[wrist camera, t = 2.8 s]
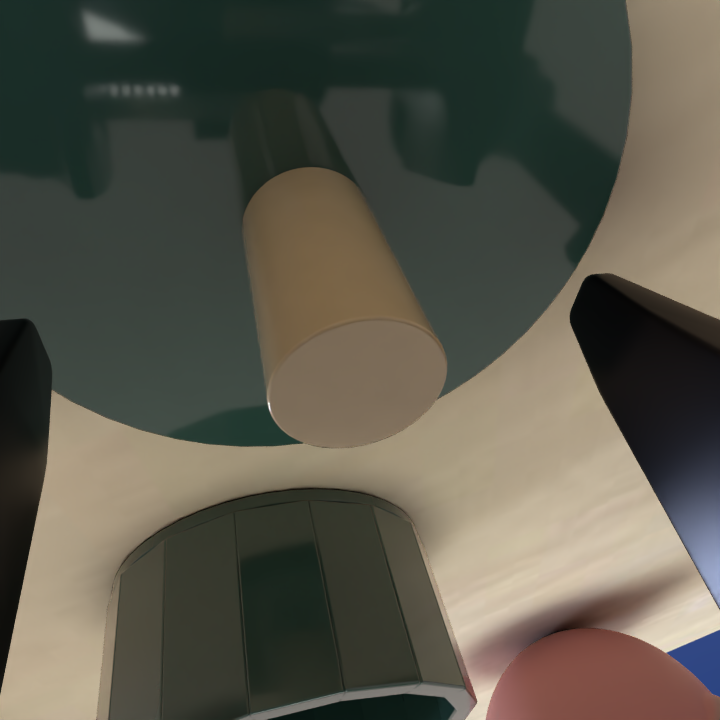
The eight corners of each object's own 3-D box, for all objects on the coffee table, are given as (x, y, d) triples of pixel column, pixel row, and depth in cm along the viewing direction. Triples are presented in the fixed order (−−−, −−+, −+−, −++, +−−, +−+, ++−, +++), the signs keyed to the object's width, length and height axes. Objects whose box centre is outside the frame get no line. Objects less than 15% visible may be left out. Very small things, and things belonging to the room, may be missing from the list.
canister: (441, 465, 20) (517, 650, 15) (398, 609, 28) (439, 755, 24) (70, 522, 17) (30, 768, 13) (146, 662, 26) (138, 840, 21)
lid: (729, -218, 8) (1219, -272, 4) (505, 387, 18) (599, 546, 14) (-366, -397, 5) (-1854, -1048, 1) (50, 443, 15) (0, 669, 11)
